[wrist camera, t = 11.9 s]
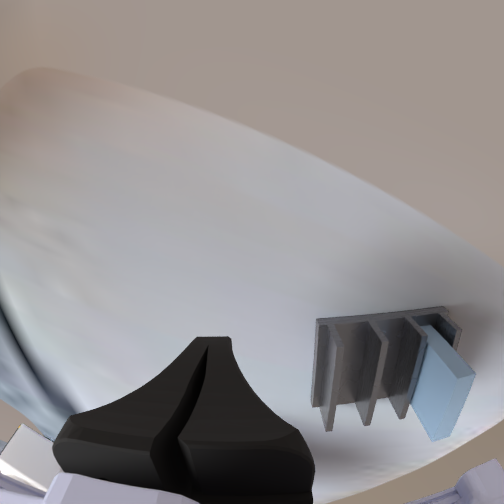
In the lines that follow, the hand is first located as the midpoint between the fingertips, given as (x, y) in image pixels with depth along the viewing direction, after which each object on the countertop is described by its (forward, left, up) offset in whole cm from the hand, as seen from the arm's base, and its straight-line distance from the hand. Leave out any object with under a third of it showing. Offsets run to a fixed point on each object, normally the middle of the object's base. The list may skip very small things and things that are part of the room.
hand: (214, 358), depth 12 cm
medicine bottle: (-24, +26, -11) cm, 37 cm away
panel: (-8, -15, -9) cm, 19 cm away
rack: (-8, -12, -10) cm, 17 cm away
